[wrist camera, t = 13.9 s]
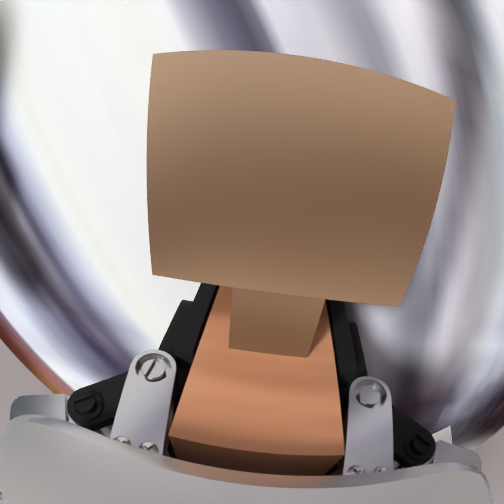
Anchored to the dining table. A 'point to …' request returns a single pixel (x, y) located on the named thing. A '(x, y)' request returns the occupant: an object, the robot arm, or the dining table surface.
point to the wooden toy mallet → (283, 234)
